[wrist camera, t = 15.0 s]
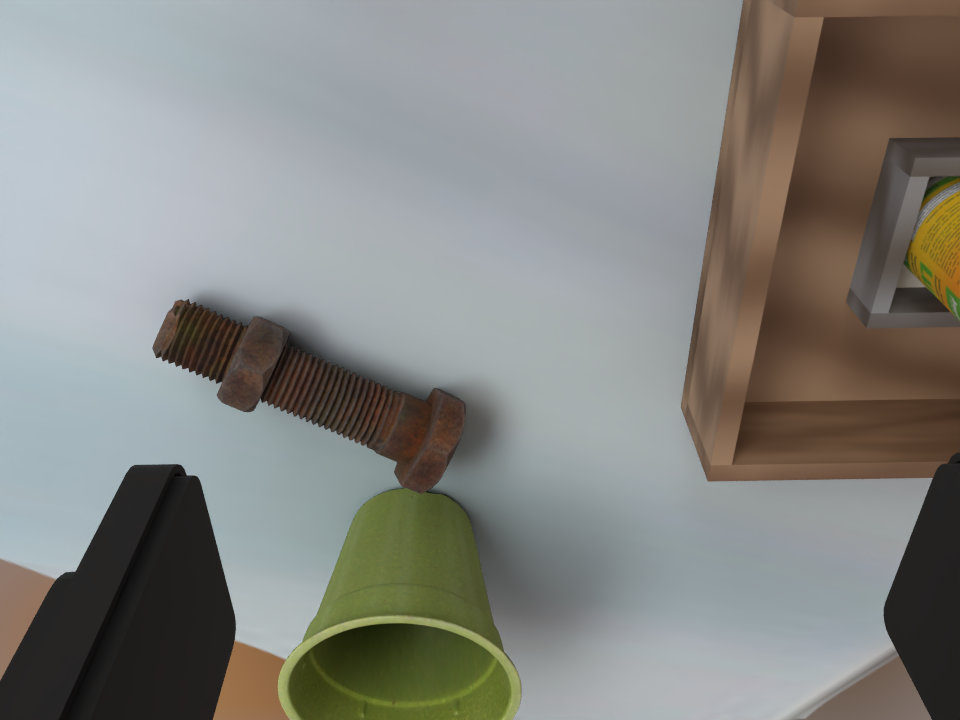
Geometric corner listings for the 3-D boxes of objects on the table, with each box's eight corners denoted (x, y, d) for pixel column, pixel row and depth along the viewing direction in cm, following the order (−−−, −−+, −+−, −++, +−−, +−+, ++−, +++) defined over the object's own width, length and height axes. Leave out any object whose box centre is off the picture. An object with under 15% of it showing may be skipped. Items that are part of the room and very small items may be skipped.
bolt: (193, 277, 42) (454, 394, 46) (152, 366, 42) (415, 477, 46) (178, 277, 37) (476, 411, 40) (130, 380, 37) (433, 505, 40)
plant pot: (275, 542, 50) (231, 711, 41) (390, 420, 45) (370, 580, 36) (431, 622, 54) (424, 791, 45) (552, 519, 49) (572, 684, 40)
